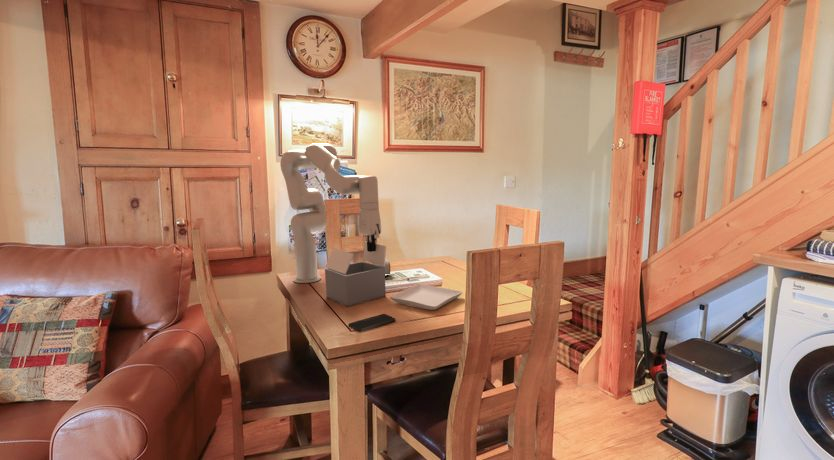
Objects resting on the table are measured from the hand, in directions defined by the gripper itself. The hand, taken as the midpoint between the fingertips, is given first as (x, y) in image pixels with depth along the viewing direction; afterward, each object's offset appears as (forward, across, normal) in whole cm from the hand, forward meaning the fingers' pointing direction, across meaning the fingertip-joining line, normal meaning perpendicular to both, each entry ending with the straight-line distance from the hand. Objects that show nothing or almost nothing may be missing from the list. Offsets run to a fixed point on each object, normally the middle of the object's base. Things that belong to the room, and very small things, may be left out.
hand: (371, 251), depth 181 cm
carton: (+18, 0, -8) cm, 20 cm away
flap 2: (+1, 0, +1) cm, 2 cm away
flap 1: (+2, 0, -15) cm, 15 cm away
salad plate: (+19, +23, +9) cm, 31 cm away
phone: (+19, +29, -20) cm, 40 cm away
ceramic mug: (+18, -21, +18) cm, 33 cm away
